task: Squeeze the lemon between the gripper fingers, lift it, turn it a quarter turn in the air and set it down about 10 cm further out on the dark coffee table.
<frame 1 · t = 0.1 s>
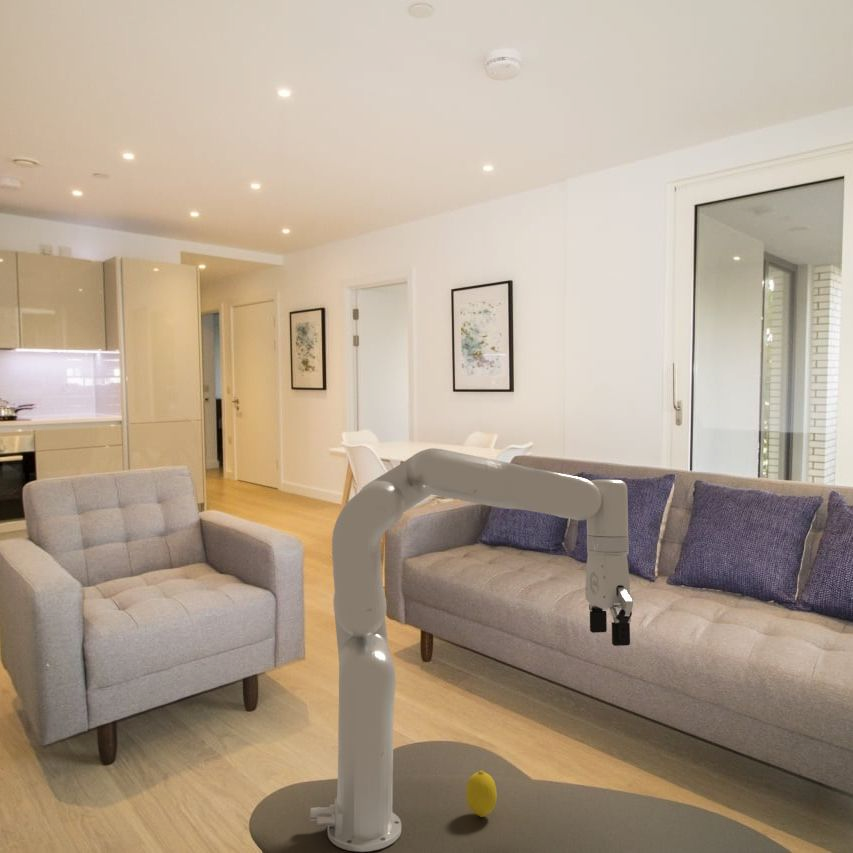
hand: (609, 638, 119), 31 cm above the table, tool pointing down, fingers open, 9 cm apart
lemon: (481, 818, 115), on the table
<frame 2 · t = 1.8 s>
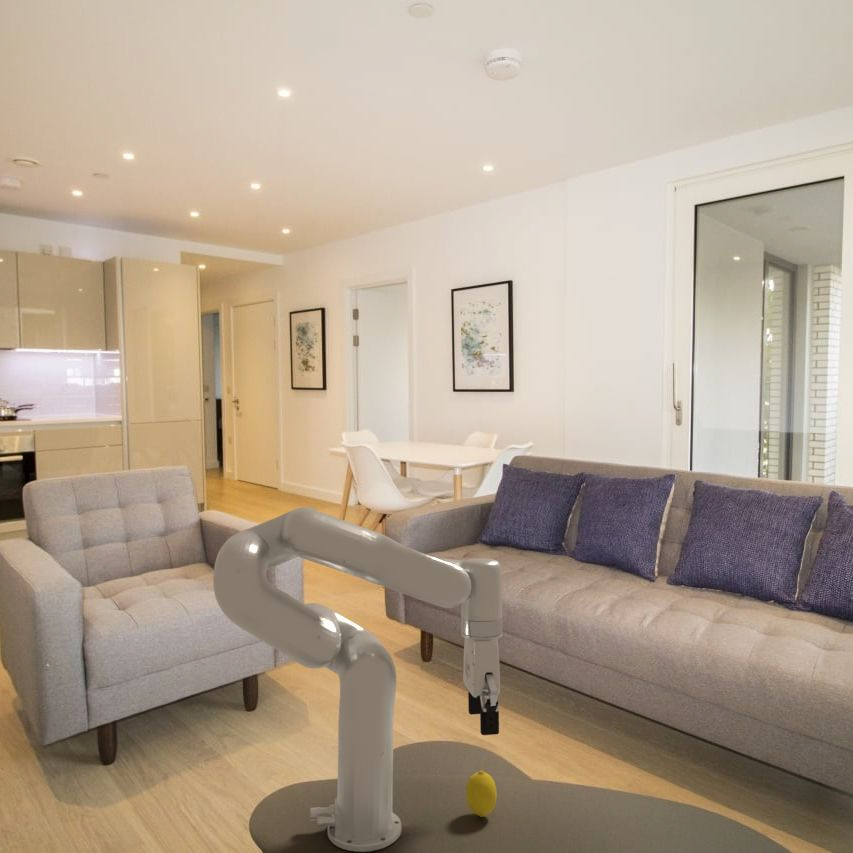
hand: (483, 723, 116), 16 cm above the table, tool pointing down, fingers open, 9 cm apart
nothing on the table moved.
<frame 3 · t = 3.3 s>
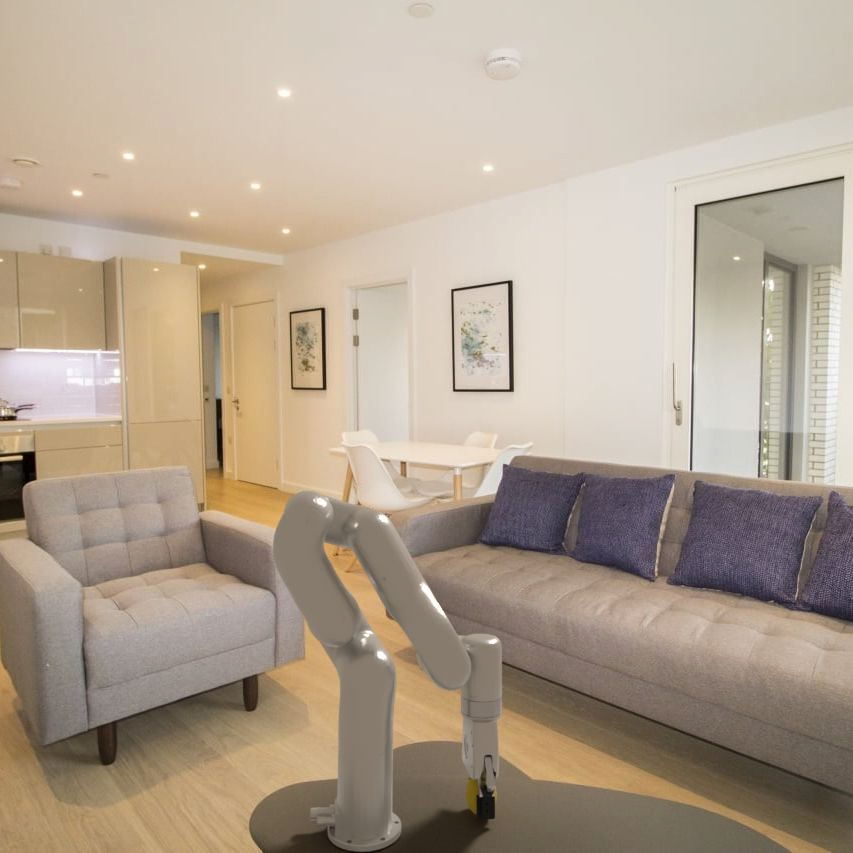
hand: (481, 808, 115), 2 cm above the table, tool pointing down, fingers closed on lemon, 5 cm apart
lemon: (481, 818, 115), on the table, touching gripper
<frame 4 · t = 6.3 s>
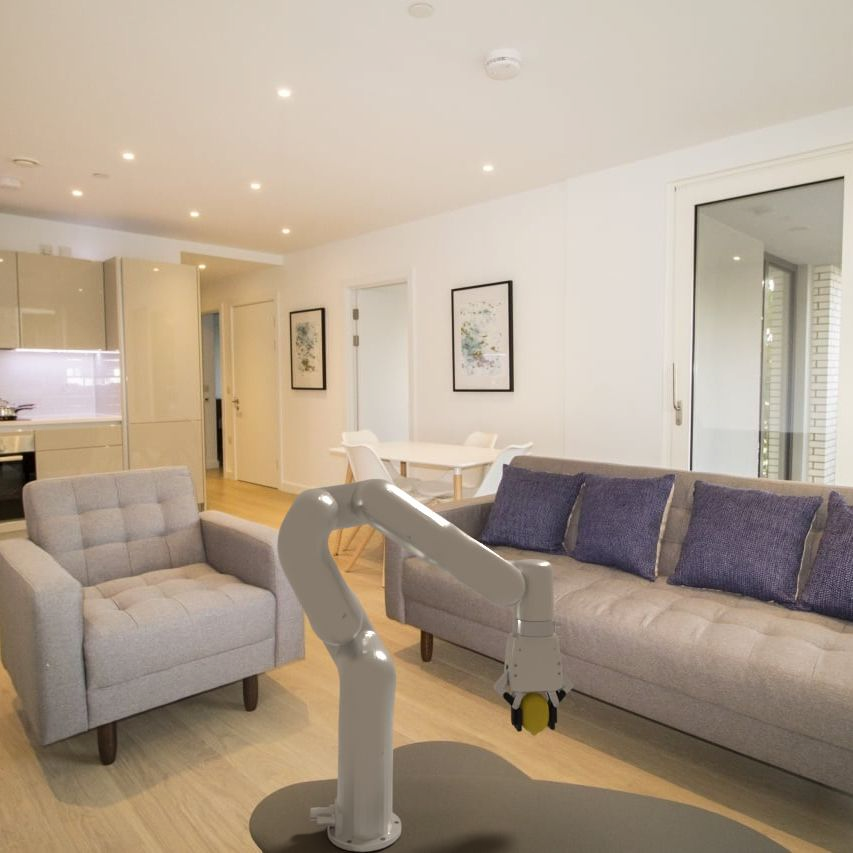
hand: (534, 727, 117), 15 cm above the table, tool pointing down, fingers closed on lemon, 5 cm apart
lemon: (534, 736, 117), point 13 cm above the table, touching gripper
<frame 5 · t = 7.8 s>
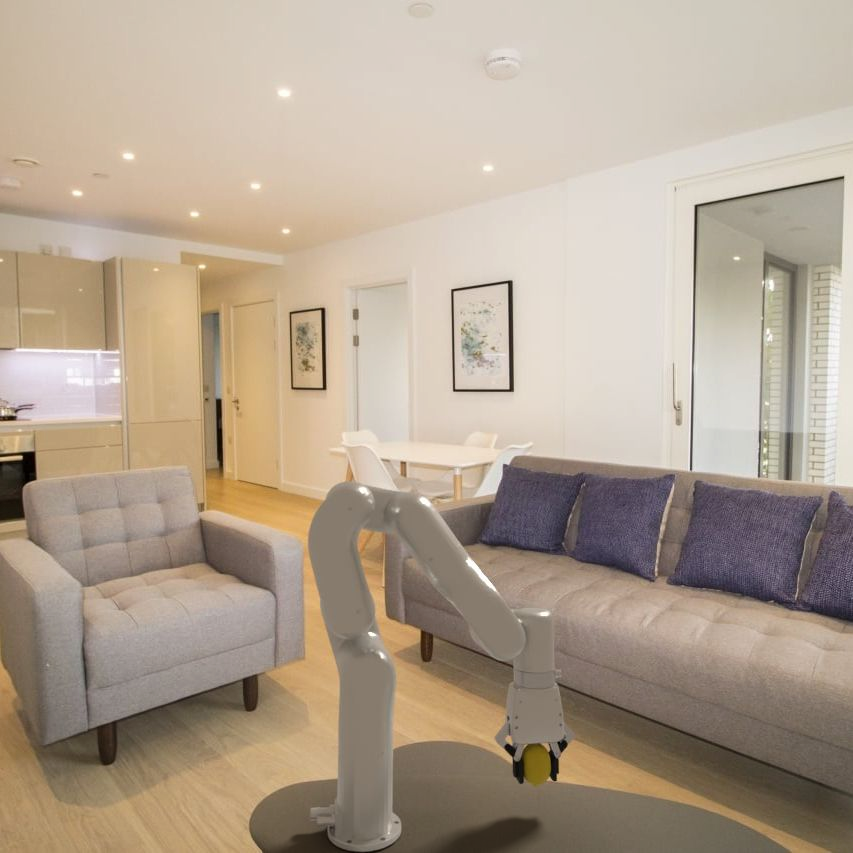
hand: (535, 778, 117), 6 cm above the table, tool pointing down, fingers closed on lemon, 5 cm apart
lemon: (536, 787, 116), point 4 cm above the table, touching gripper
when the fingers open (3 cm above the table, at t = 8.9 s): lemon drops 1 cm, on the table.
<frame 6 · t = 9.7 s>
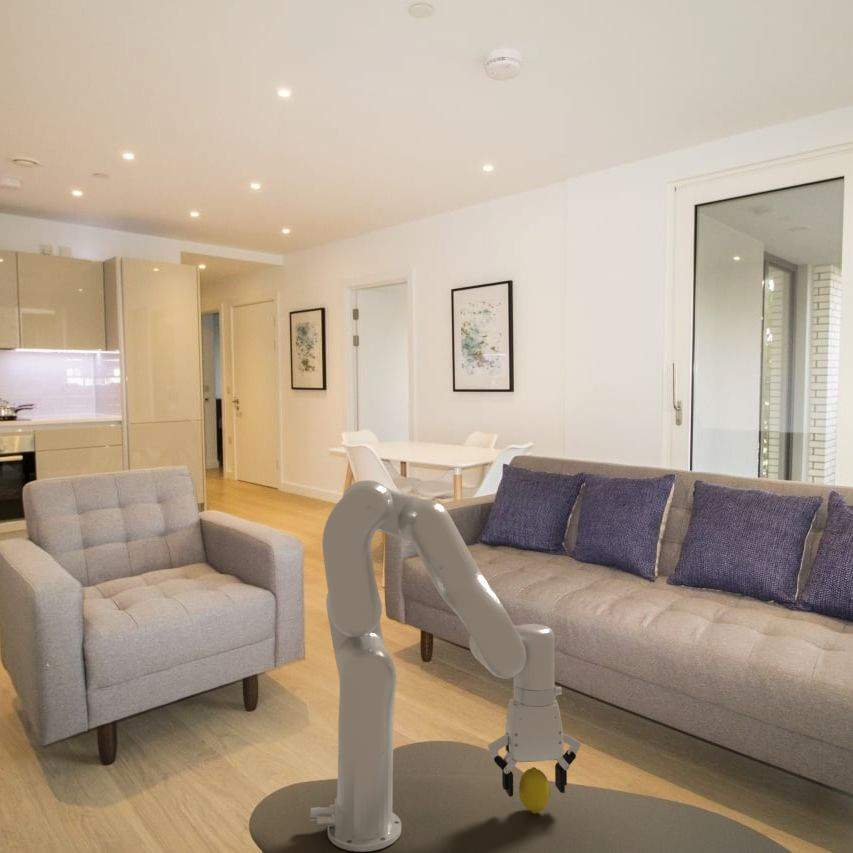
hand: (534, 791, 116), 4 cm above the table, tool pointing down, fingers open, 9 cm apart
lemon: (534, 814, 116), on the table
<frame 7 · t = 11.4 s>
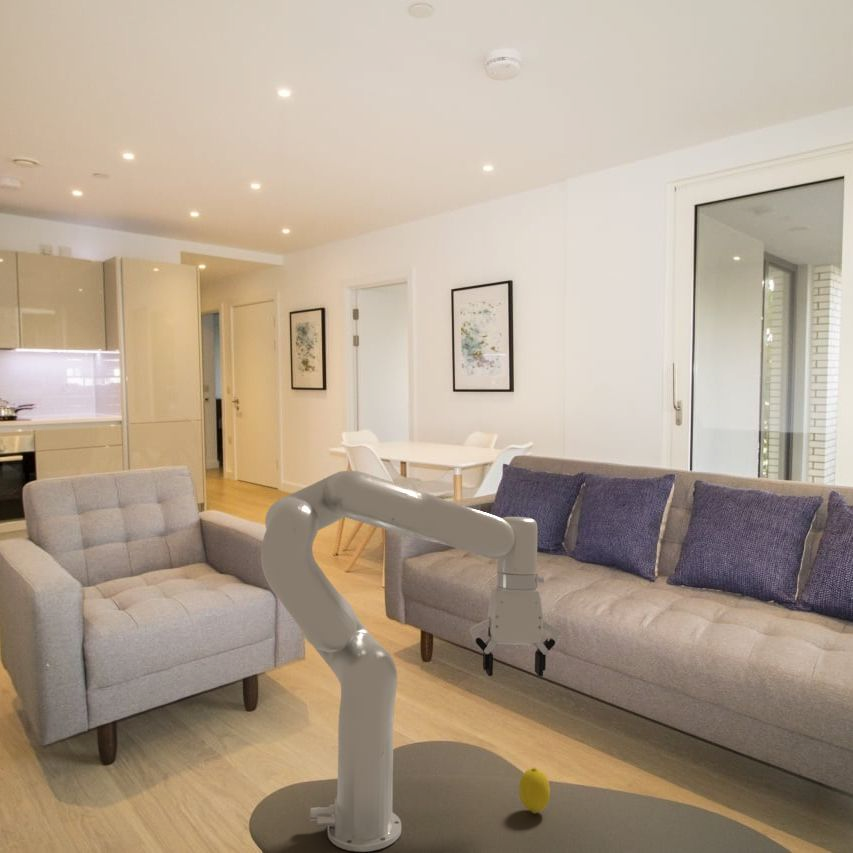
hand: (513, 674, 121), 24 cm above the table, tool pointing down, fingers open, 9 cm apart
nothing on the table moved.
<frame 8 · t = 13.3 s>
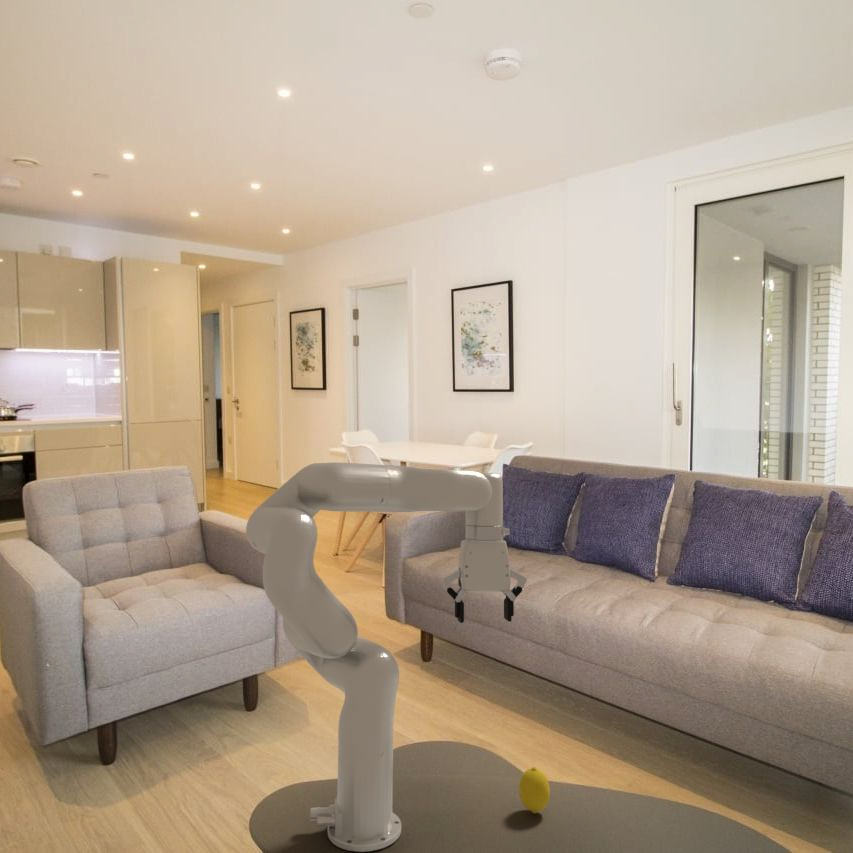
hand: (484, 620, 128), 32 cm above the table, tool pointing down, fingers open, 9 cm apart
nothing on the table moved.
at the end: lemon inside the target area (0.1 cm from its centre), on the table; lemon moved 9.9 cm from its start; the gripper is holding nothing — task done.
